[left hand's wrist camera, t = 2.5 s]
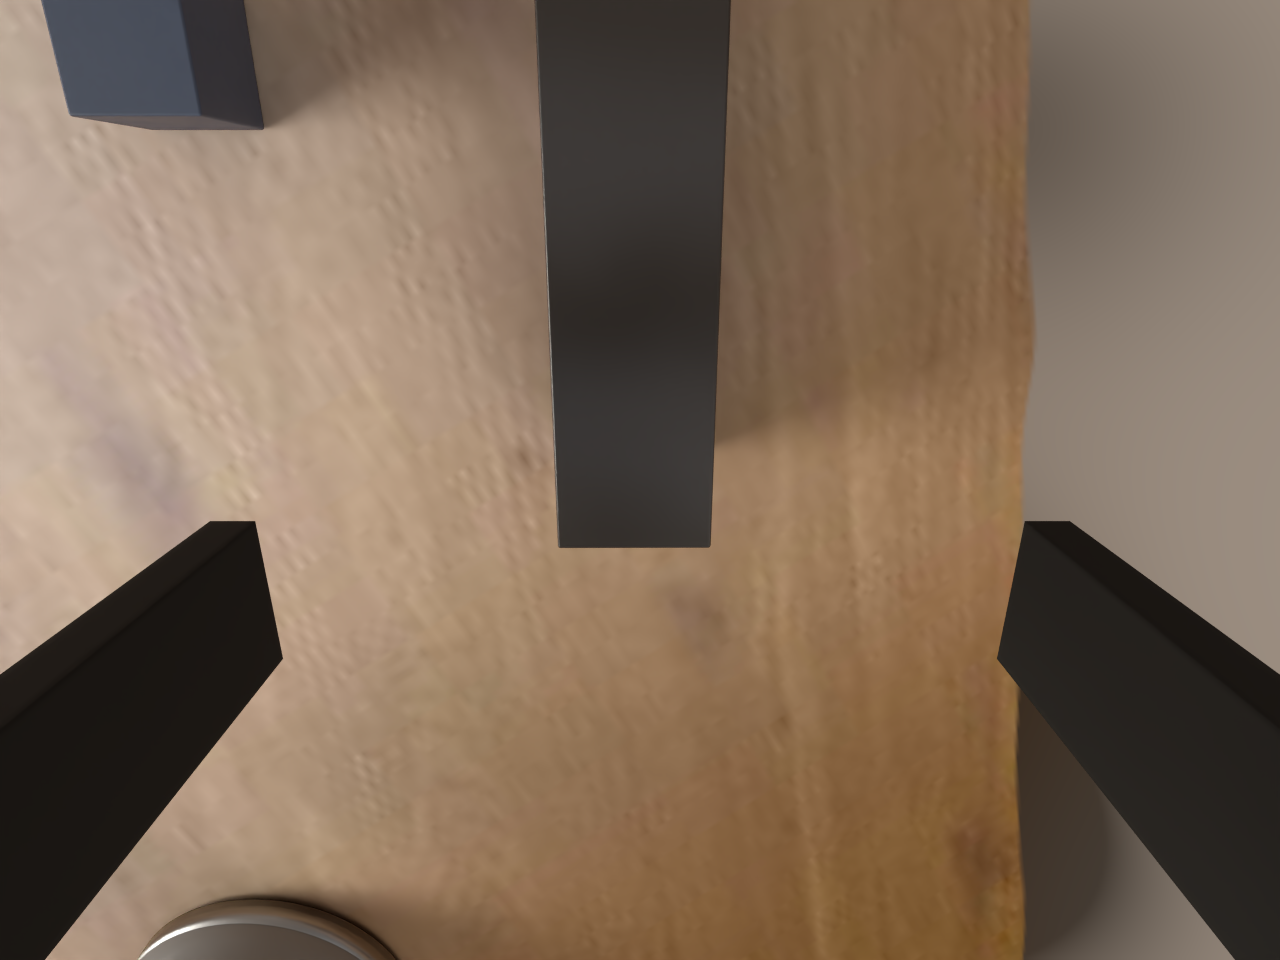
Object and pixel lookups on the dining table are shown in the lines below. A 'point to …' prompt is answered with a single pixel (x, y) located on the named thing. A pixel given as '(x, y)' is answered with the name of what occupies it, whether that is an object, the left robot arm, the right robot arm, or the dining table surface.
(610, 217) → the block
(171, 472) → the dining table surface
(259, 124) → the cube
